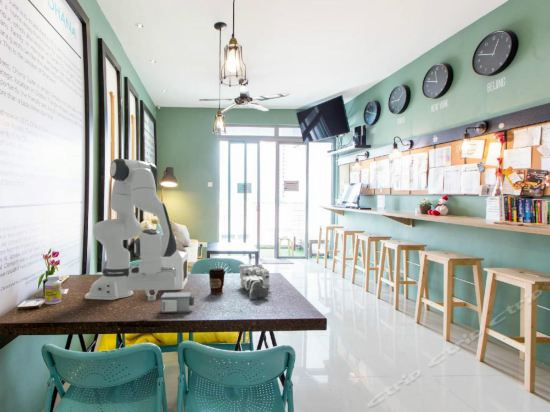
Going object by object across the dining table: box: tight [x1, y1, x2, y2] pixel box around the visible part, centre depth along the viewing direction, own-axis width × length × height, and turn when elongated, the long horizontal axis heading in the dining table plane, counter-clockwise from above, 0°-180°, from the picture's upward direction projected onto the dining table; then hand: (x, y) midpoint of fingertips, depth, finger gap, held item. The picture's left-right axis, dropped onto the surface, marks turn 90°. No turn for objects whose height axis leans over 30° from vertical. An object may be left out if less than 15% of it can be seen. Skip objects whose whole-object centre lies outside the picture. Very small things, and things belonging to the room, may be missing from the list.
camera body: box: [159, 291, 195, 314], centre depth 160 cm, size 14×8×7 cm, turn 95°
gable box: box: [158, 235, 189, 291], centre depth 207 cm, size 22×13×28 cm, turn 6°
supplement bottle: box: [44, 274, 62, 305], centre depth 170 cm, size 7×7×13 cm
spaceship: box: [238, 263, 271, 301], centre depth 194 cm, size 16×35×12 cm, turn 14°
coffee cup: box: [208, 267, 226, 295], centre depth 190 cm, size 9×8×13 cm
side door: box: [162, 299, 177, 312], centre depth 155 cm, size 6×2×5 cm, turn 96°
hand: (151, 299), depth 154 cm, fingers closed
